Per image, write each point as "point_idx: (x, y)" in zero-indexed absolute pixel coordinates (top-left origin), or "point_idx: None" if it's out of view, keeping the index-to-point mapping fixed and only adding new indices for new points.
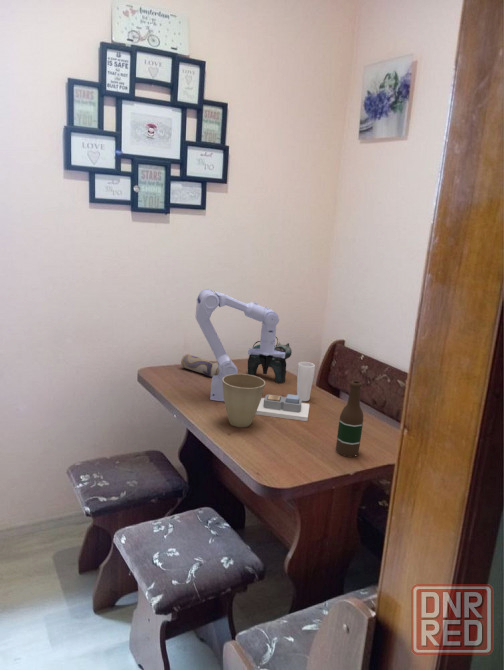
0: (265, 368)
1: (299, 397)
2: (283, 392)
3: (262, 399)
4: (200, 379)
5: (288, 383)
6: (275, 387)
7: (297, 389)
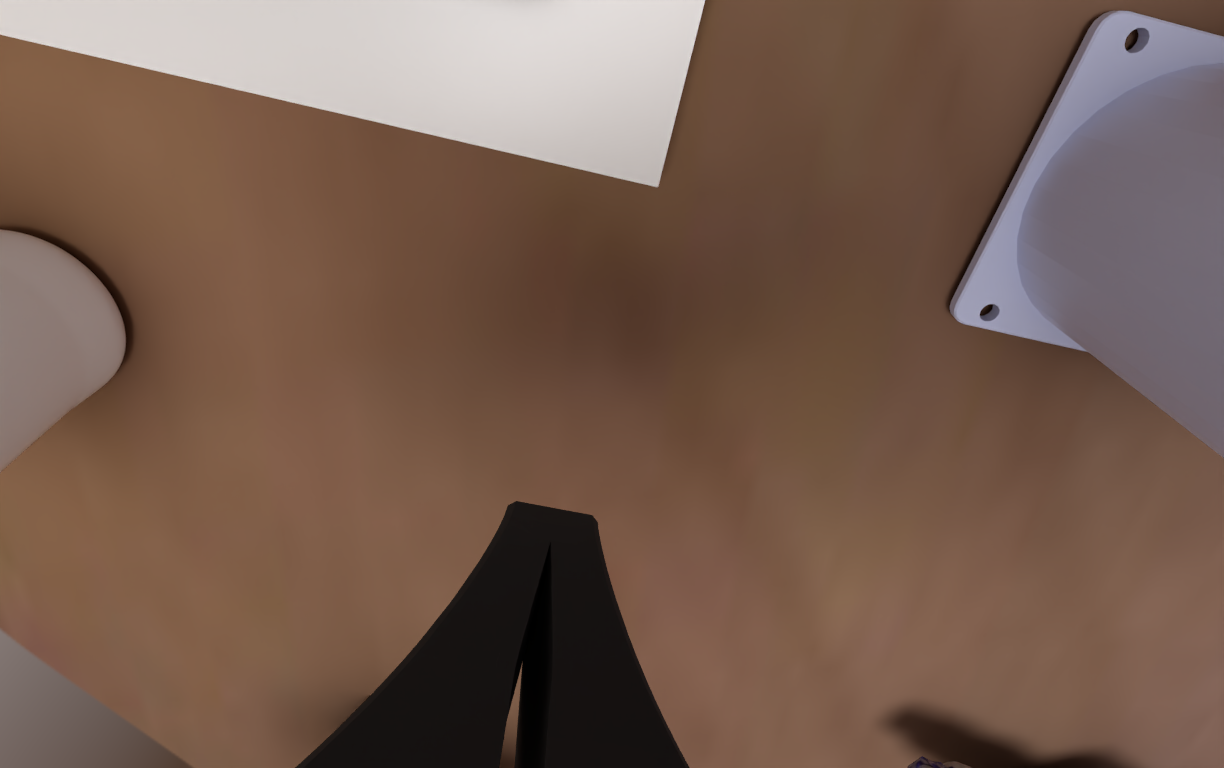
0: (527, 608)
1: (38, 264)
2: (324, 498)
3: (609, 93)
4: (1205, 717)
5: (297, 708)
6: (423, 613)
7: (7, 357)
